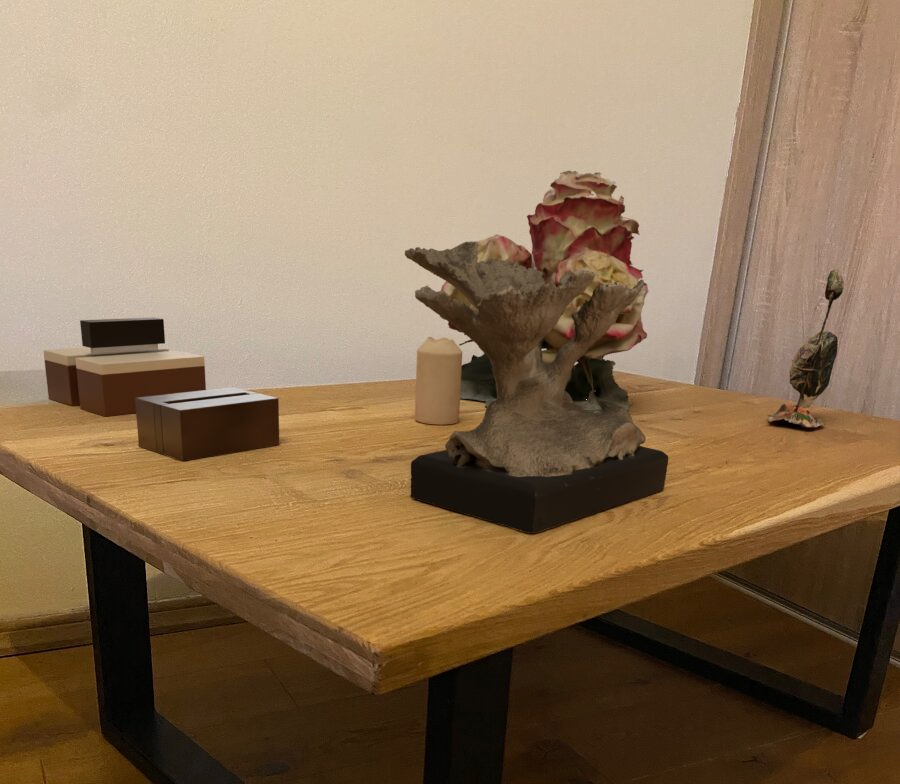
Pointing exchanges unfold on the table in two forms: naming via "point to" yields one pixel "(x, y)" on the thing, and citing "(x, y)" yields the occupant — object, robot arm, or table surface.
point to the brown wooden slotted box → (207, 422)
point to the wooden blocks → (119, 378)
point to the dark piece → (122, 335)
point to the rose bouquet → (572, 248)
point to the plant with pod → (813, 366)
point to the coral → (531, 401)
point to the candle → (438, 382)
